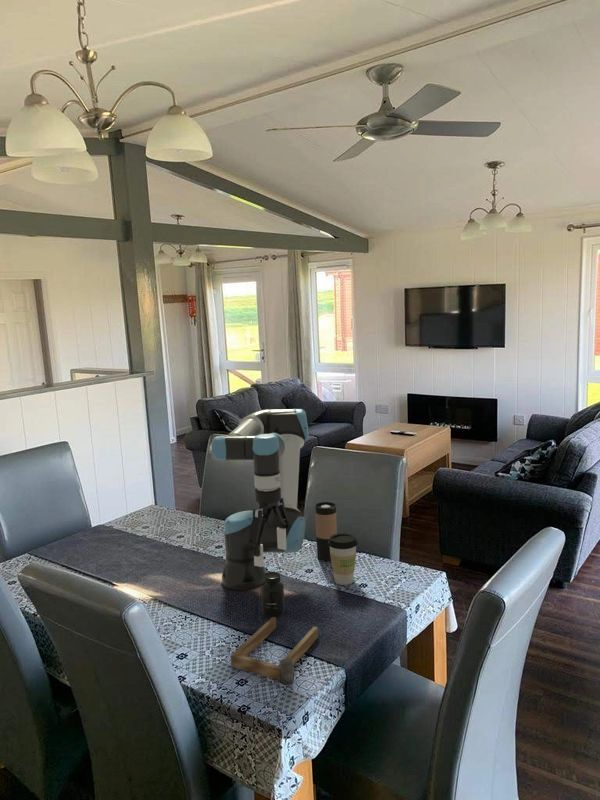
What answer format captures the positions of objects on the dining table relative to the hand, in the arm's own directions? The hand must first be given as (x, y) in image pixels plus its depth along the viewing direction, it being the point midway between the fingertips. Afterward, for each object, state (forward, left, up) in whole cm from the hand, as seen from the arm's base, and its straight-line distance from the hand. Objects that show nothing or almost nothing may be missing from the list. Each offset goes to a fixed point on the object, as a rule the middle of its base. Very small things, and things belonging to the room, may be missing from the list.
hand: (271, 557), depth 173 cm
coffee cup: (+11, +28, -18) cm, 35 cm away
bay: (+12, -18, -18) cm, 28 cm away
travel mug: (-2, +43, -18) cm, 47 cm away
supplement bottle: (0, 0, -18) cm, 18 cm away
